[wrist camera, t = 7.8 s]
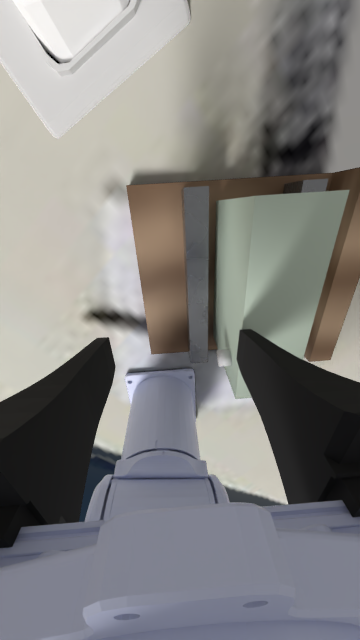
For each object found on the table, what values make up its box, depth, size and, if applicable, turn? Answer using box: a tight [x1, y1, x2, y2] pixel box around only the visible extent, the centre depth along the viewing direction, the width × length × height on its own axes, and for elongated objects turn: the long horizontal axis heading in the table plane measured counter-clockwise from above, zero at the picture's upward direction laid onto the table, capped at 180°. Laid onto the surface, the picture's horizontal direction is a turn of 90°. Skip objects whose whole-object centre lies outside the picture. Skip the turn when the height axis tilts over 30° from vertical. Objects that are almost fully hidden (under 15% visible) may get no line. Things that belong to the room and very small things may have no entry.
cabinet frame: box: [126, 167, 360, 363], centre depth 18 cm, size 15×17×4 cm
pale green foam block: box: [213, 190, 349, 399], centre depth 15 cm, size 5×12×8 cm, turn 3°
